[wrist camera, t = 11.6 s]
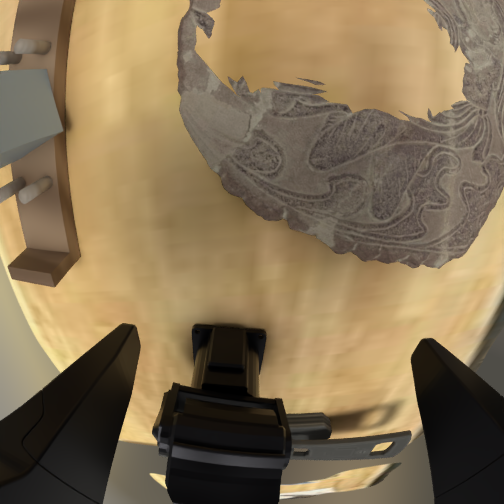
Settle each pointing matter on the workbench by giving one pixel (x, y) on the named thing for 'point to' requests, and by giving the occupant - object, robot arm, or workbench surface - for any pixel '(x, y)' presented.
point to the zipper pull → (337, 441)
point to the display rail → (43, 149)
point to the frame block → (25, 113)
